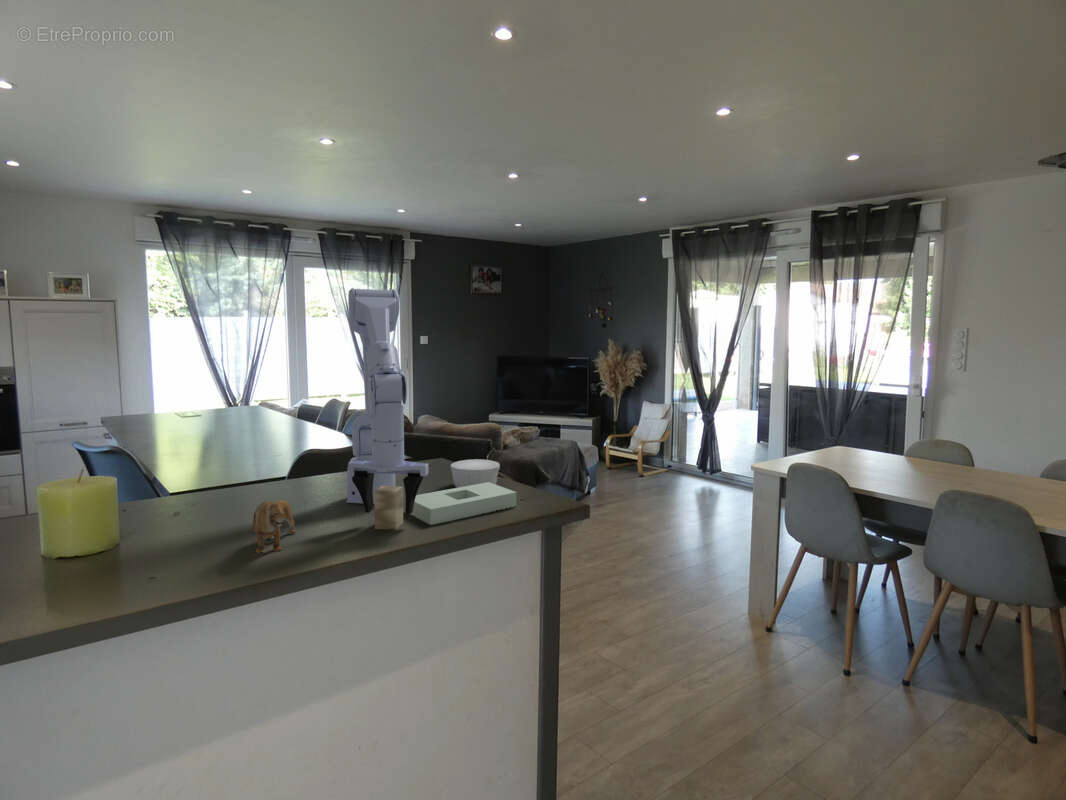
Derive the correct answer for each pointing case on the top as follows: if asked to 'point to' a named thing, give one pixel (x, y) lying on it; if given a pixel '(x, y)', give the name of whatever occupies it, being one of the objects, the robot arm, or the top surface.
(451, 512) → the socket block
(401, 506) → the peg
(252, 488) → the top surface
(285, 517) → the orange animal figure
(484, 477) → the ramekin
